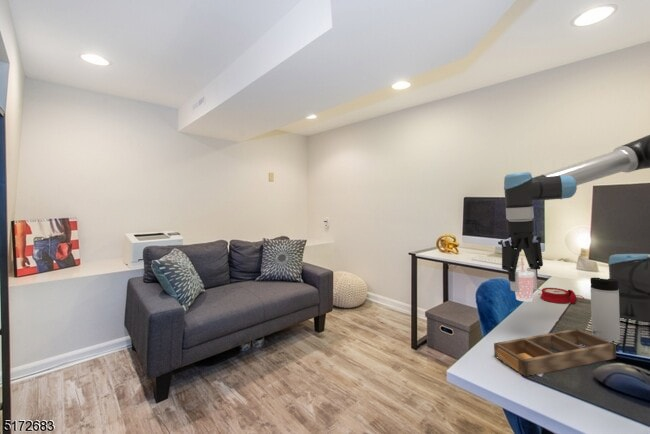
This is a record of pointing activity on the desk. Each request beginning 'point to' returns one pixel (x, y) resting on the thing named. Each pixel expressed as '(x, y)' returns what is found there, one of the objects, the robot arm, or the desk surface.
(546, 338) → the walnut rack
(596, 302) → the travel mug
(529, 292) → the beverage cup
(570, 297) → the alarm clock
